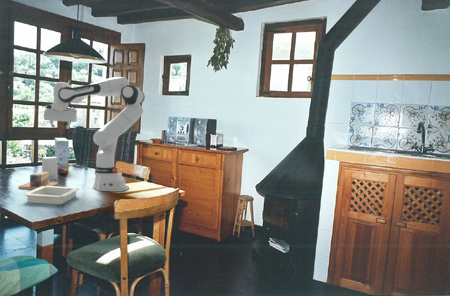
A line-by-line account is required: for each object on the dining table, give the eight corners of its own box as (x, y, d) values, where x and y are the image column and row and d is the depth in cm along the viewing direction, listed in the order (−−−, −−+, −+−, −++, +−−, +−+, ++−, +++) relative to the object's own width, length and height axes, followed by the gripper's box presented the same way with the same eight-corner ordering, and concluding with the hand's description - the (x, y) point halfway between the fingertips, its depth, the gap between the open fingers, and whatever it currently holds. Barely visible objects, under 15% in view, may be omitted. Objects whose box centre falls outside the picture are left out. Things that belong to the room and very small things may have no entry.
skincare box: (53, 177, 228) (54, 156, 226) (57, 179, 223) (58, 157, 222) (41, 179, 221) (41, 157, 220) (45, 180, 217) (45, 158, 215)
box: (48, 182, 206) (48, 172, 206) (38, 186, 194) (38, 175, 194) (40, 182, 206) (40, 171, 206) (29, 186, 194) (30, 174, 194)
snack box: (53, 168, 260) (54, 137, 257) (65, 168, 264) (66, 137, 262) (56, 173, 241) (56, 140, 239) (68, 173, 246) (69, 140, 244)
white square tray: (80, 195, 187) (80, 187, 187) (63, 205, 166) (63, 197, 166) (43, 193, 187) (43, 185, 186) (21, 203, 165) (21, 194, 165)
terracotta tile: (58, 184, 209) (58, 182, 209) (45, 190, 193) (45, 187, 193) (33, 183, 208) (33, 180, 208) (18, 188, 192) (18, 186, 192)
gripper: (78, 108, 212) (78, 128, 213) (47, 106, 212) (47, 126, 213) (74, 108, 206) (74, 129, 207) (42, 105, 205) (42, 127, 207)
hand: (60, 128), depth 210 cm, fingers open, 8 cm apart
